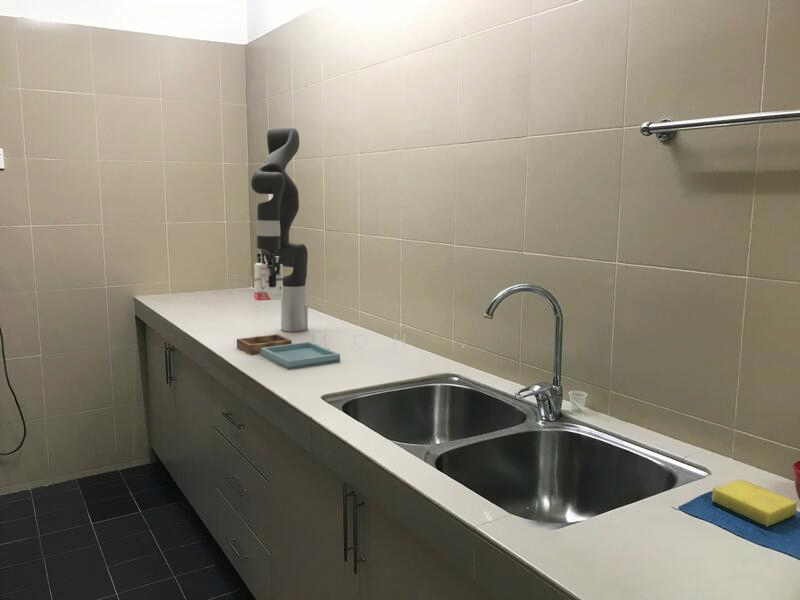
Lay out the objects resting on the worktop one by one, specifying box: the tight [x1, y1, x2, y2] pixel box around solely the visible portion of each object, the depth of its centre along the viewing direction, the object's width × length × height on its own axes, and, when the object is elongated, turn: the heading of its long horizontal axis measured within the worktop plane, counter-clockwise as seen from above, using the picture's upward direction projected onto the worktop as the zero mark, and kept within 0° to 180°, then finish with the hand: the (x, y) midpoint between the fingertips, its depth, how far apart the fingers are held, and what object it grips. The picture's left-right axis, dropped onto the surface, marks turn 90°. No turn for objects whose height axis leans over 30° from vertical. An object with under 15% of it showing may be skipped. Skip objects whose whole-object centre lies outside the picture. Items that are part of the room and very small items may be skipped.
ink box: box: [253, 262, 284, 301], centre depth 217 cm, size 9×5×12 cm, turn 115°
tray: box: [259, 341, 341, 370], centre depth 211 cm, size 18×20×2 cm
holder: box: [236, 333, 293, 355], centre depth 223 cm, size 15×11×3 cm
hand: (268, 285), depth 217 cm, fingers closed on ink box, 5 cm apart
